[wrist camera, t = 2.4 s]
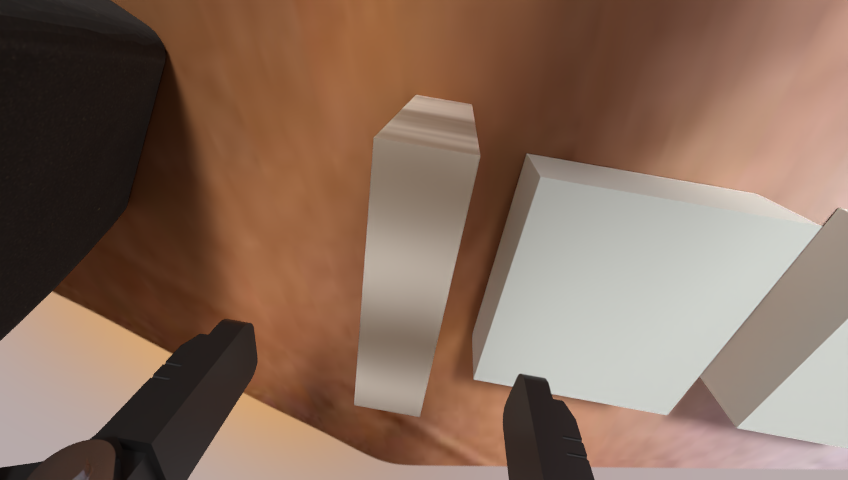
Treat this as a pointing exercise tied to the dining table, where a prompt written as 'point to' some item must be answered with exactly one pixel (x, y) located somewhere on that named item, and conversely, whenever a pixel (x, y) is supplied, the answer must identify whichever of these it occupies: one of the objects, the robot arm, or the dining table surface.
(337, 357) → the dining table surface
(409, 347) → the beige metallic bar
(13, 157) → the flower pot
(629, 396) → the slotted board
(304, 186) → the dining table surface
